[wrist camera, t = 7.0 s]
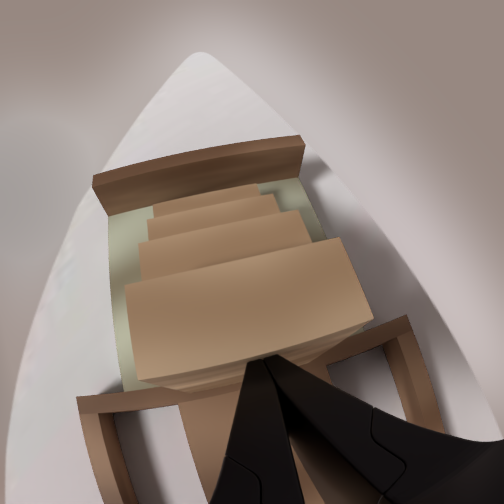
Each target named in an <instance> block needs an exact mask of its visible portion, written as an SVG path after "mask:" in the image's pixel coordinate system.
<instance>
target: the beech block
mask: <svg viewBox="0 0 504 504" xmlns="http://www.w3.org/2000/svg"><path fill="white" fill-rule="evenodd" d="M153 215H154V218H152V219H147V228H148V239H149V241H146V242H142V243H138V248H139V259H140V269H141V278H142V281H141V282H136V283H132V284H127V285H124V286H125V296H126V306H127V314H128V322H129V330H130V337H131V344H132V350H133V356H134V362H135V368H136V373H137V378H138V381H142V382H146V383H150V384H154V385H158V386H162V387H166V388H170V389H174V390H179V391H184V392H188V393H193V392H198V391H203V390H208V389H213V388H217V387H222V386H226V385H230V384H235V383H239V382H242V381H243V377H244V372H245V368H246V364H247V362H249V361H253V360H257V359H262V360H263V358H265V357H268V356H272V355H275V354H278V355H280V356H282V357H284V358H285V359H287V360H289V361H290V362H292V363H294V364H296V365H297V366H300V365H303V364H306V363H309V362H310V361H312V360H314V359H315V358H317V357H318V356H320V355H322V354H323V353H325V352H326V351H328V350H329V349H331V348H332V347H334V346H335V345H337V344H338V343H340V342H341V341H343V340H344V339H346V338H347V337H349V336H350V335H352V334H353V333H354V332H356V331H357V330H359V329H360V328H362V327H363V326H364V325H366V324H367V323H369V322H370V321H371V320H373V319H374V317H373V314H372V312H371V309H370V307H369V304H368V302H367V299H366V297H365V294H364V292H363V289H362V287H361V285H360V282H359V280H358V278H357V275H356V273H355V271H354V268H353V266H352V264H351V261H350V259H349V257H348V255H347V252H346V250H345V248H344V246H343V244H342V241H341V239H340V237H337V238H332V239H328V240H324V241H319V242H315V243H312V241H311V238H310V236H309V234H308V231H307V229H306V227H305V224H304V222H303V220H302V217H301V215H300V213H299V210H293V211H287V212H282V213H281V212H280V210H279V207H278V205H277V202H276V200H275V197H274V195H273V194H267V195H262V196H261V194H260V192H259V189H258V186H257V184H256V183H255V184H249V185H244V186H238V187H233V188H228V189H223V190H218V191H213V192H208V193H203V194H198V195H193V196H188V197H184V198H179V199H175V200H170V201H166V202H161V203H157V204H153Z"/></svg>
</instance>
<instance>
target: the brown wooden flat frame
mask: <svg viewBox="0 0 504 504" xmlns="http://www.w3.org/2000/svg"><path fill="white" fill-rule="evenodd" d="M304 150H305V143H304V141H303V140H302V138H301V136H300V135H295V136H285V137H277V138H269V139H261V140H254V141H247V142H240V143H234V144H228V145H222V146H216V147H210V148H205V149H199V150H194V151H189V152H184V153H179V154H175V155H170V156H166V157H161V158H157V159H153V160H148V161H144V162H140V163H136V164H132V165H128V166H125V167H121V168H117V169H114V170H110V171H106V172H103V173H100V174H96V175H93V182H92V188H93V190H94V192H95V194H96V196H97V197H98V199H99V201H100V203H101V205H102V206H103V208H104V210H105V212H106V213H107V215H108V246H109V273H110V289H111V302H112V313H113V323H114V331H115V340H116V347H117V354H118V361H119V367H120V373H121V379H122V384H123V389H124V392H118V393H110V394H101V395H91V396H79V397H76V399H77V404H78V410H79V415H80V420H81V425H82V430H83V434H84V438H85V443H86V447H87V450H88V454H89V458H90V462H91V465H92V469H93V472H94V475H95V478H96V482H97V485H98V488H99V491H100V494H101V496H102V499H103V502H104V504H138V501H137V498H136V495H135V493H134V490H133V487H132V484H131V481H130V478H129V474H128V471H127V468H126V465H125V461H124V458H123V454H122V451H121V447H120V443H119V439H118V435H117V431H116V427H115V423H114V418H113V414H112V413H120V412H129V411H138V410H145V409H153V408H159V407H166V406H172V405H178V406H179V410H180V414H181V418H182V421H183V425H184V429H185V432H186V436H187V440H188V443H189V446H190V450H191V453H192V456H193V460H194V463H195V466H196V469H197V472H198V475H199V478H200V481H201V484H202V487H203V490H204V493H205V496H206V499H207V501H208V504H209V502H210V499H211V497H212V494H213V492H214V489H215V487H216V483H217V480H218V477H219V473H220V470H221V466H222V462H223V458H224V457H225V451H226V447H227V443H228V439H229V435H230V431H231V427H232V423H233V419H234V414H235V410H236V406H237V402H238V398H239V394H240V389H241V385H242V382H239V383H235V384H230V385H226V386H222V387H217V388H213V389H208V390H203V391H198V392H193V393H188V392H184V391H179V390H174V389H170V388H166V387H162V386H158V385H154V384H150V383H146V382H142V381H138V378H137V373H136V368H135V362H134V356H133V350H132V344H131V337H130V330H129V322H128V314H127V306H126V296H125V286H124V285H127V284H132V283H136V282H141V281H142V278H141V269H140V259H139V248H138V243H142V242H146V241H149V239H148V228H147V219H152V218H154V215H153V204H157V203H161V202H166V201H170V200H175V199H179V198H184V197H188V196H193V195H198V194H203V193H208V192H213V191H218V190H223V189H228V188H233V187H238V186H244V185H249V184H255V183H256V184H257V186H258V189H259V192H260V194H261V196H262V195H267V194H273V195H274V197H275V200H276V202H277V205H278V207H279V210H280V212H281V213H282V212H287V211H293V210H299V213H300V215H301V217H302V220H303V222H304V224H305V227H306V229H307V231H308V234H309V236H310V238H311V241H312V243H315V242H319V241H324V240H327V238H326V235H325V233H324V231H323V229H322V227H321V224H320V222H319V220H318V218H317V216H316V213H315V211H314V209H313V207H312V205H311V203H310V201H309V199H308V196H307V194H306V192H305V190H304V188H303V186H302V184H301V182H300V180H299V178H298V176H299V172H300V168H301V163H302V159H303V154H304ZM380 345H382V346H383V349H384V351H385V354H386V357H387V360H388V363H389V366H390V369H391V372H392V375H393V378H394V381H395V384H396V387H397V390H398V393H399V396H400V399H401V403H402V406H403V409H404V413H405V416H406V419H407V422H410V423H412V424H415V425H418V426H421V427H424V428H427V429H430V430H434V431H437V432H441V433H444V434H445V431H444V427H443V423H442V419H441V415H440V412H439V408H438V404H437V401H436V398H435V394H434V391H433V388H432V384H431V381H430V378H429V375H428V372H427V369H426V366H425V363H424V360H423V357H422V354H421V351H420V349H419V346H418V343H417V340H416V338H415V335H414V332H413V330H412V327H411V325H410V322H409V320H408V317H407V314H406V315H404V316H402V317H399V318H397V319H394V320H392V321H390V322H387V323H385V324H382V325H380V326H377V327H374V328H372V329H369V330H367V331H364V328H363V327H362V328H360V329H359V330H357V331H356V332H354V333H353V334H352V335H350V336H349V337H347V338H346V339H344V340H343V341H341V342H340V343H338V344H337V345H335V346H334V347H332V348H331V349H329V350H328V351H326V352H325V353H323V354H322V355H320V356H318V357H317V358H315V359H314V360H312V361H310V362H309V363H306V364H303V365H300V366H299V367H301V368H303V369H304V370H306V371H308V372H310V373H311V374H313V375H315V376H317V377H319V378H320V379H322V380H324V381H326V382H328V383H329V384H331V385H332V382H331V379H330V376H329V373H328V370H327V367H326V366H328V365H331V364H333V363H336V362H339V361H342V360H344V359H347V358H350V357H352V356H355V355H358V354H360V353H363V352H365V351H368V350H370V349H373V348H375V347H377V346H380ZM290 444H291V443H290ZM291 448H292V452H293V456H294V460H295V464H296V468H297V472H298V476H299V480H300V484H301V488H302V492H303V496H304V500H305V504H325V503H324V501H323V499H322V498H321V496H320V494H319V493H318V491H317V489H316V487H315V486H314V484H313V482H312V481H311V479H310V477H309V475H308V474H307V472H306V470H305V468H304V467H303V465H302V463H301V461H300V460H299V458H298V456H297V454H296V452H295V451H294V449H293V447H292V445H291Z"/></svg>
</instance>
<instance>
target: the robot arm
mask: <svg viewBox="0 0 504 504" xmlns="http://www.w3.org/2000/svg"><path fill="white" fill-rule="evenodd" d="M290 443H291V444H290ZM291 445H292V447H293V449H294V451H295V452H296V454H297V456H298V458H299V460H300V461H301V463H302V465H303V467H304V468H305V470H306V472H307V474H308V475H309V477H310V479H311V481H312V482H313V484H314V486H315V487H316V489H317V491H318V493H319V494H320V496H321V498H322V499H323V501H324V503H325V504H504V439H503V440H499V441H493V442H478V441H471V440H467V439H463V438H459V437H455V436H451V435H448V434H444V433H441V432H437V431H434V430H430V429H427V428H424V427H421V426H418V425H415V424H412V423H410V422H407V421H404V420H402V419H400V418H397V417H395V416H393V415H390V414H388V413H386V412H384V411H382V410H380V409H378V408H376V407H374V408H373V406H372V405H370V404H368V403H366V402H364V401H362V400H360V399H358V398H356V397H354V396H352V395H350V394H348V393H346V392H344V391H343V390H341V389H339V388H337V387H335V386H333V385H331V384H329V383H328V382H326V381H324V380H322V379H320V378H319V377H317V376H315V375H313V374H311V373H310V372H308V371H306V370H304V369H303V368H301V367H299V366H297V365H296V364H294V363H292V362H290V361H289V360H287V359H285V358H284V357H282V356H280V355H278V354H275V355H272V356H268V357H265V358H263V360H262V359H257V360H253V361H249V362H247V364H246V368H245V372H244V377H243V381H242V385H241V389H240V394H239V398H238V402H237V406H236V410H235V414H234V419H233V423H232V427H231V431H230V435H229V439H228V443H227V447H226V451H225V457H224V458H223V462H222V466H221V470H220V473H219V477H218V480H217V483H216V487H215V489H214V492H213V494H212V497H211V499H210V502H209V504H305V500H304V496H303V492H302V488H301V484H300V480H299V476H298V472H297V468H296V464H295V460H294V456H293V452H292V448H291Z"/></svg>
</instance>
